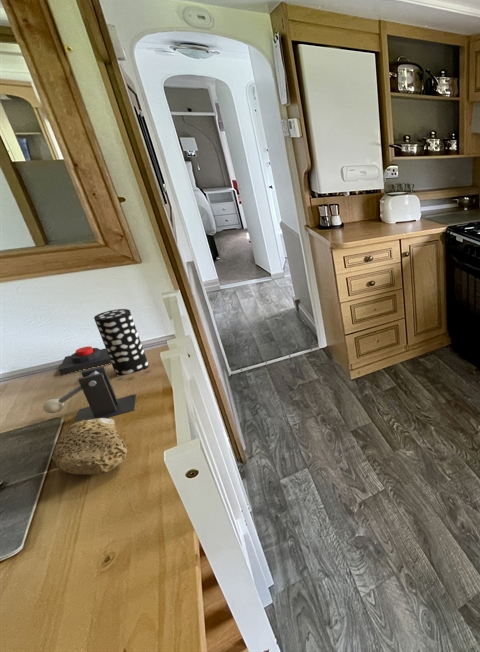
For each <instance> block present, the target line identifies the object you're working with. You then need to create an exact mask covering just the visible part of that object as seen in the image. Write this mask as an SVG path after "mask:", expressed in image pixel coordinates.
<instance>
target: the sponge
mask: <svg viewBox="0 0 480 652" xmlns="http://www.w3.org/2000/svg"><path fill="white" fill-rule="evenodd" d="M127 454H128V448H127V445H126V443H125V440H124V439H123V437H121V436H120V435H119V432H118V431H117V425H116V420H115V419H113V418H98V419H90V420H82V421H80V422H76V423H75V422H74V423H73V424H70V425H69V427H68V428H67V429H66V430H65V431H64V432H63V433H62V434H61V435H60V436H59V439H58V440H57V441H56V444H55V447H54V448H53V453H52V456H51V459H52V460H53V463H55V466H56V468H57V469H59V470H61V472H64V473H66V474H67V473H68V474H72V475H88V476H92V475H100V474H105V473H108V472H110V471H112V470H114V469H116V468H117V467H119V466H120V465H121V464H122V463H123V462H124V461H125V459H126V457H127Z"/></svg>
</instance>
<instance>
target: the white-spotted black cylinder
mask: <svg viewBox="0 0 480 652" xmlns="http://www.w3.org/2000/svg"><path fill="white" fill-rule="evenodd" d="M93 319H94V322H95V325H96V328H97V330H98V332H99V336H100V337H101V340H102V342H103V345H104V349H105V348H106V350H107V353H108V355H109V358H110V361H111V363H112V364H111V365H112V368H113V371H114V373H115V376H116V377H121V376H125V375H130V374H133V373H137V372H142V371H146V370H148V369H149V367H150V364H149V363H148V359H147V356H146V353H145V351H144V347H143V345H142V342H141V338H140V336H139V333H138V330H137V326H136V324H135V322H134V321H135V320H134V318H133V316H132V312H131V310H130V309H128V308H118V309H111V310H108V311H104V312H101V313H97V314H96V315H95V316H94V317H93ZM148 366H149V367H148ZM147 368H148V369H147ZM145 369H146V370H145Z"/></svg>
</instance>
